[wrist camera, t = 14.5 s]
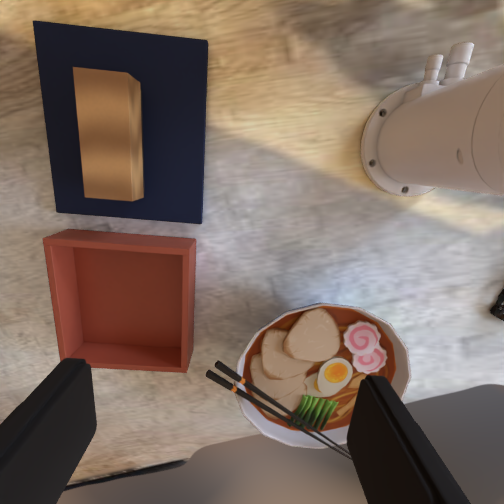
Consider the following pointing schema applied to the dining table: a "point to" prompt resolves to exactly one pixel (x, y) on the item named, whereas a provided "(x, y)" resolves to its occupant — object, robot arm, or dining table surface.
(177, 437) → the dining table surface
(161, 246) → the red open tray
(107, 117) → the tall wooden block
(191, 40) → the mat
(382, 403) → the robot arm
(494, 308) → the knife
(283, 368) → the ramen bowl
